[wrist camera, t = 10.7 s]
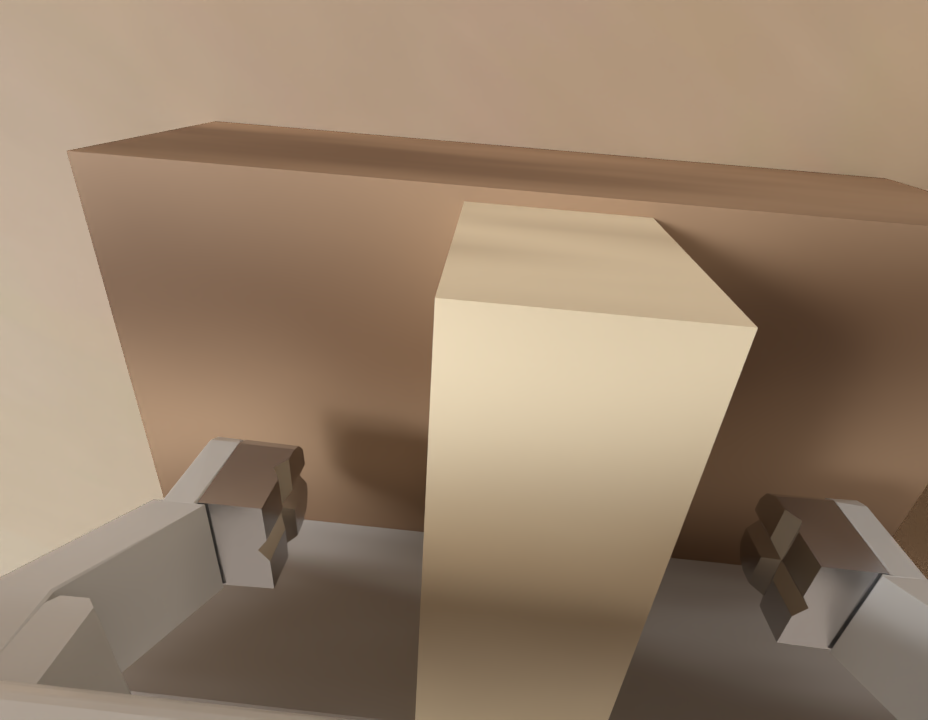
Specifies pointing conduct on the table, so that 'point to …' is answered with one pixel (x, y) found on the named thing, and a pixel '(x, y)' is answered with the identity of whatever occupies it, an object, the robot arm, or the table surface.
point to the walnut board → (413, 299)
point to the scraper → (532, 517)
